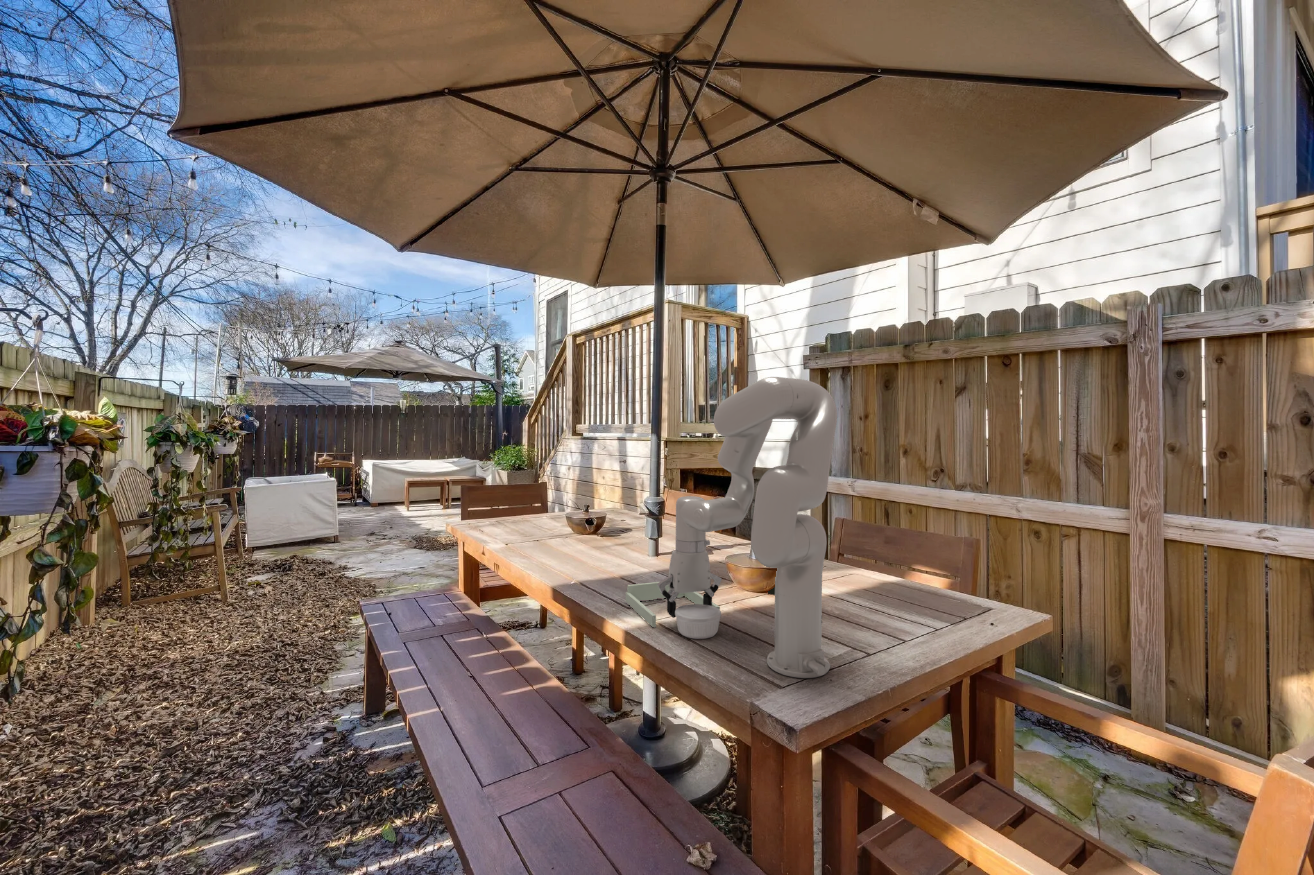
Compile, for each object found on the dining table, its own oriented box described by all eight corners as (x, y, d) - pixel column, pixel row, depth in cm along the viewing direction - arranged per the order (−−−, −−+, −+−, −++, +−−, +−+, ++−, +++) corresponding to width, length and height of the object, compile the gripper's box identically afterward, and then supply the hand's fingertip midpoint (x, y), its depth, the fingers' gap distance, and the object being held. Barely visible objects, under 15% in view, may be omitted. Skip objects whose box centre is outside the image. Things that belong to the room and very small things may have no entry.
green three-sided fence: (719, 618, 143) (719, 599, 143) (652, 627, 136) (652, 607, 136) (686, 595, 163) (686, 578, 163) (625, 602, 156) (625, 585, 156)
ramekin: (720, 624, 139) (720, 604, 139) (722, 641, 127) (722, 619, 127) (676, 623, 139) (676, 603, 139) (673, 640, 128) (673, 618, 128)
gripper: (714, 540, 144) (713, 605, 145) (653, 545, 138) (652, 612, 138) (728, 546, 137) (727, 614, 138) (664, 552, 131) (663, 623, 131)
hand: (689, 613), depth 138 cm, fingers open, 9 cm apart
